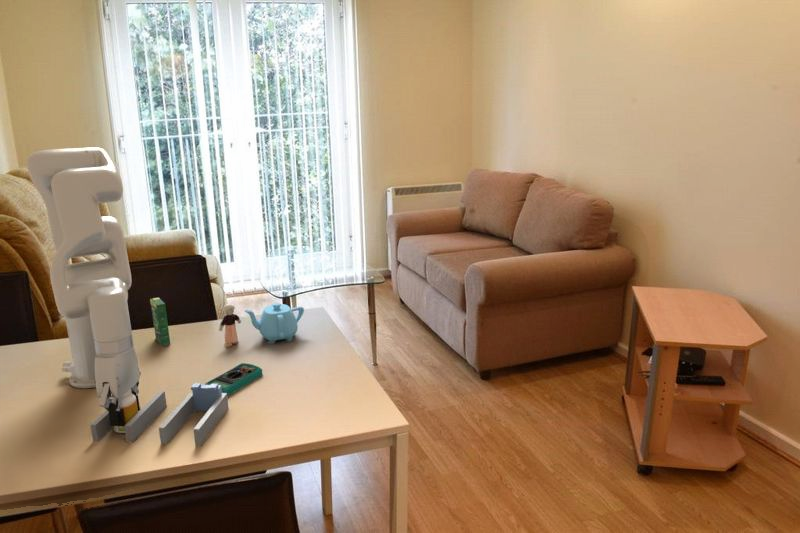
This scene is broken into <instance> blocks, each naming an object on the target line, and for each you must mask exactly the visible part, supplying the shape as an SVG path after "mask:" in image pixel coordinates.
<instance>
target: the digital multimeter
mask: <svg viewBox="0 0 800 533" xmlns="http://www.w3.org/2000/svg"><path fill="white" fill-rule="evenodd" d="M262 376H263V369H262V368H261V367H259V366H257V365H254V364H252V363H246V362H244V363H243V362H242V363H240V364H238V365H235V367H233V368H231V369H229V370H228V371H226V372H224V373H222V374H220V375H218V376H216V377H214V378H213V379H210V380H209V381H207V382H206V383H204V384H203V385H211V384H218V385H221V388H222V393H227V397H229V396H230V395H232V394H234V393H235V392H237V391H239V390H240V389H242V388H243V387H245V386H246V385H248V384H250V383H251V382H253V381H255V380H257V379H259V378H261V377H262Z"/></svg>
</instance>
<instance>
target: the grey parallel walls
mask: <svg viewBox="0 0 800 533" xmlns="http://www.w3.org/2000/svg"><path fill="white" fill-rule="evenodd" d="M190 390H191V391H190V392H189V394H187V396H186V397H185V398H183V400H182V401H181V402H180V404H178V405H177V407H176V408H174V410H173V411H171V413H170V414H169V416H168V417H167V418H165V420H164V421H163V422H162V423H161V424H160V426H158V431H159V432H158V433H159V440H160V441H159V442H160V445H167V444H168V443H169V442H170V441H171V440H172V438H173V437H174V436H175V435H176V433H177V432H178V431H179V430H180V429H181V427H182V426H183V425H184V424H185V422H187V421H188V419H189V418H190V417H191V416H192V414H193V413H194V412H195V411H196V412H197V411H198V412H199V411H200V412H201V411H203V412H206V413H205V414H204V415H203V416H202V418H201V419H200V420H199V422H198V423H196V425H195V426H194V428H193V436H194V437H193V438H194V444H195V447H201V446H202V445H203V444H204V442H205V441H206V440H207V438H209V436H210V434H211V433H212V431H213V430H214V429H215V427H216V426H217V424H218V423H220V420H221V419H222V418H223V416H224V415H225V414H226V413H227V411H228V409H229V400H228V396H227V393H222V388H221V385H218V384H211V385H204V384H202V383H201V382H194V383H193V384H192V385H191V386H190ZM166 407H167V398H166V391H165V390H159V391H158V392H157V393H156V394H155V395H154V396H153V397H152V398H150V400H149V401H148V402H147V403H146V404H145V405H144V406H143V407H142V408H140V411H139V412H138V413H137V414H136V415H135V416H134V417H133V418H132V419H131V420H130V421H129V422H128V423H127V424H126V425H125V426H124V428H125V433H124V434H125V439H126V440H125V441H126V443H127V444H128V443H131V444H132V443H134V442H135V440H136V439H137V438H138V437H140V435H142V433H143V432H144V431H145V430H146V429H147V428H148V427H149V425H151V424H152V423H153V421H154V420H155V419H156V418H157V417H158V416H159V415H160V414H161V413H162V412H163V411H164V410H165V408H166ZM89 425H90V431H91V436H92V442H100V440H102V438H103V437H105V436H106V435H107V434H108V433H109V432H110V431H111V430H113V429H114V426H111V424H110V418H109V412H108V411H107V410H106V409H105V411H103V413H101V415H99V417H97V418H96V419H95V420H94V421H93V422H91V423H90V424H89Z"/></svg>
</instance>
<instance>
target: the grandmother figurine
mask: <svg viewBox="0 0 800 533" xmlns="http://www.w3.org/2000/svg"><path fill="white" fill-rule="evenodd" d="M222 309H223V312H224V313H225V315H224V316H223V318H222V320H221V321H220V324H219V328H218V331H219V332H222V331H223V328H224V344H223V345H224V347H227V348H228V347H232V346H233V345H237V344H239V338H238V333H237V329H236V328H237V327H236V322H237V324H241V323H242V320H240V316H239V315H237V314H235V310H236V307H235V305H234V304H232V303H227V304H225V305H224V306H223V308H222Z"/></svg>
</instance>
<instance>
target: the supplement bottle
mask: <svg viewBox="0 0 800 533" xmlns="http://www.w3.org/2000/svg"><path fill="white" fill-rule="evenodd" d="M111 396H114V395H113V394H111ZM112 403H114V404H116V400H115V399H112ZM121 409H123V410H124V416H125V423H126V424H127V423H128V422H129V421H130V420H131V419H132V418H133V417H134V416H135V415H136V414H137V413H138V408H137V401H136V397H135V395H134V394H132V392H131V389H130V390H129V391H128V392H126V393H125V394H124V395H123V396H122V399H121ZM126 424H125V425H126ZM125 425H124V426H125ZM124 426H114V427H113V430H114V432H115V433H119V434H125V428H124Z"/></svg>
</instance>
